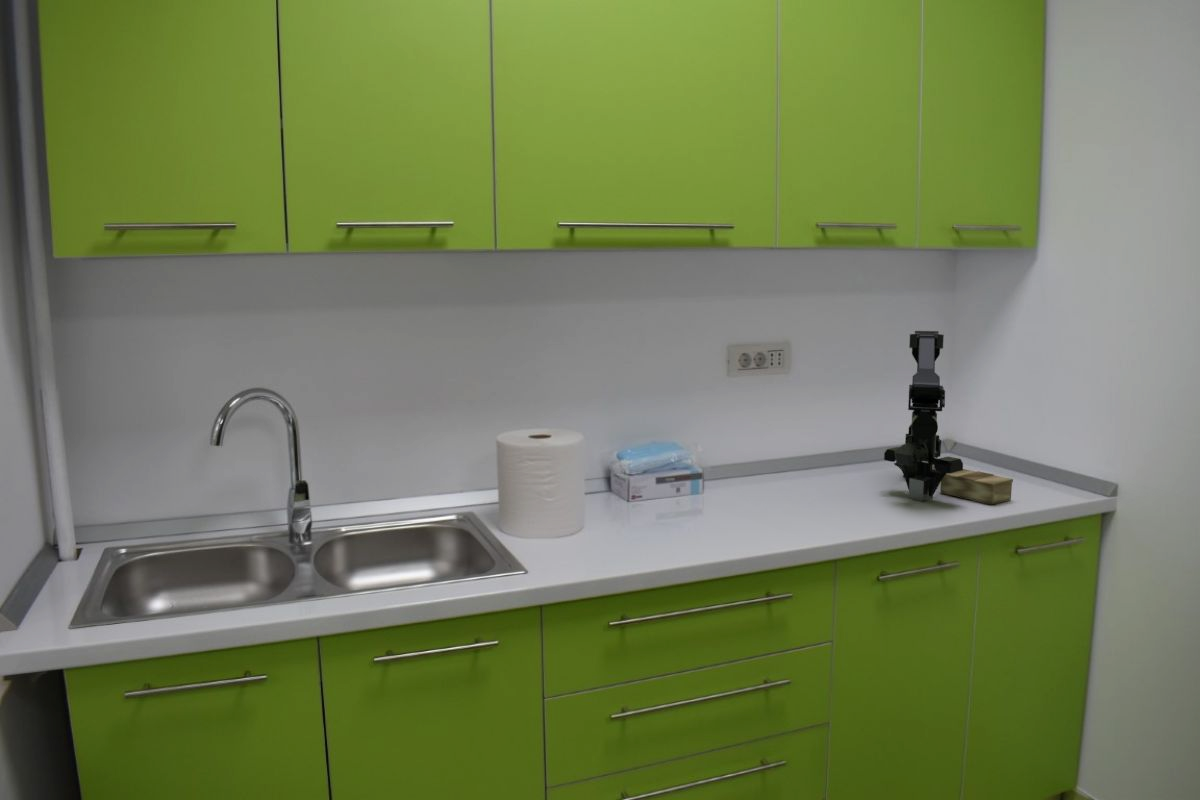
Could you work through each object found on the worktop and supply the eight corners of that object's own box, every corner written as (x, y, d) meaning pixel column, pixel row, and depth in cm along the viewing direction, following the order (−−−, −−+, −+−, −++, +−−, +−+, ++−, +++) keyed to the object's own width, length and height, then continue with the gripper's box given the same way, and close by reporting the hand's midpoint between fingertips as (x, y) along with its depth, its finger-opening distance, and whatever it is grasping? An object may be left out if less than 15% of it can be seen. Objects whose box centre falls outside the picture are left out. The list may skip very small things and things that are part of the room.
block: (908, 497, 215) (909, 478, 214) (918, 495, 218) (919, 475, 217) (922, 501, 212) (923, 481, 211) (932, 498, 214) (933, 478, 213)
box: (940, 492, 219) (941, 476, 219) (959, 487, 224) (959, 471, 223) (992, 504, 208) (993, 487, 207) (1010, 499, 212) (1011, 482, 212)
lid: (938, 476, 218) (939, 472, 218) (959, 471, 223) (959, 467, 223) (992, 487, 207) (992, 484, 207) (1013, 482, 212) (1013, 478, 211)
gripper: (870, 429, 215) (868, 491, 218) (937, 441, 200) (934, 507, 202) (899, 424, 222) (896, 484, 224) (965, 435, 206) (962, 499, 209)
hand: (920, 493), depth 215 cm, fingers open, 5 cm apart
